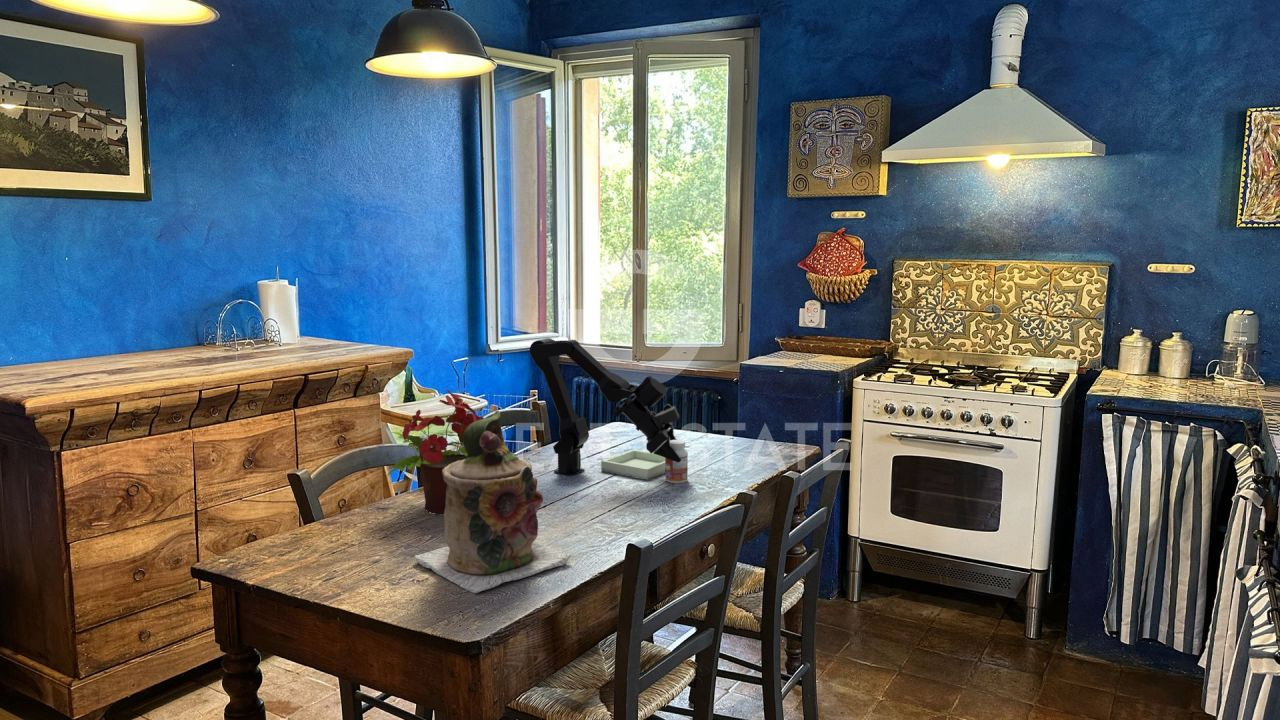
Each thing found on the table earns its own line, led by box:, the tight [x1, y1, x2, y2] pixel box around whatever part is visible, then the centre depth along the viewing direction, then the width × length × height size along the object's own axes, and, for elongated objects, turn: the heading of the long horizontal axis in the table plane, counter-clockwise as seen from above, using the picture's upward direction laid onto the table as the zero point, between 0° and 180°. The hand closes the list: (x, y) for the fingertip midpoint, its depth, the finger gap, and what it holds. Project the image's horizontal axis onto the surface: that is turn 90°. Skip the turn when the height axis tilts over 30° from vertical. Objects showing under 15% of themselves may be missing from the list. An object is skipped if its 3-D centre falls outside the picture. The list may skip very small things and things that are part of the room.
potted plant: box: [386, 388, 485, 515], centre depth 224 cm, size 30×27×30 cm
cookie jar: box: [414, 410, 573, 594], centre depth 184 cm, size 25×25×32 cm
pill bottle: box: [664, 439, 689, 484], centre depth 245 cm, size 6×6×11 cm
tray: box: [600, 449, 665, 481], centre depth 258 cm, size 16×16×3 cm
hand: (681, 457), depth 245 cm, fingers open, 9 cm apart
